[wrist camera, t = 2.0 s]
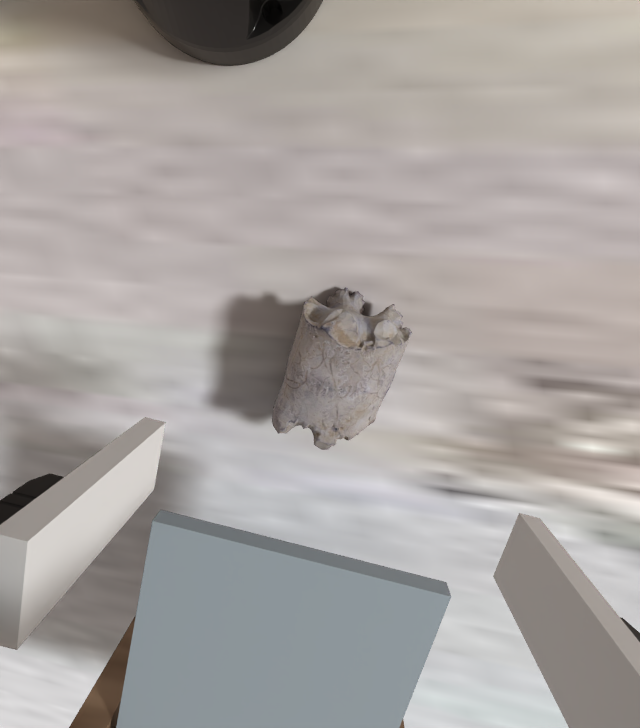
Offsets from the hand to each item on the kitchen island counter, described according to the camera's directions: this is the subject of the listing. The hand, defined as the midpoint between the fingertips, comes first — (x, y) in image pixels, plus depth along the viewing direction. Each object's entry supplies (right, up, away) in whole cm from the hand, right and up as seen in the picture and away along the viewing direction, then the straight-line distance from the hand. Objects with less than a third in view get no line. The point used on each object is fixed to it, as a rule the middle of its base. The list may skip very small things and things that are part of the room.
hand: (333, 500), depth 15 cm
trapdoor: (-4, -16, +13) cm, 21 cm away
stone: (+1, +5, +20) cm, 21 cm away
